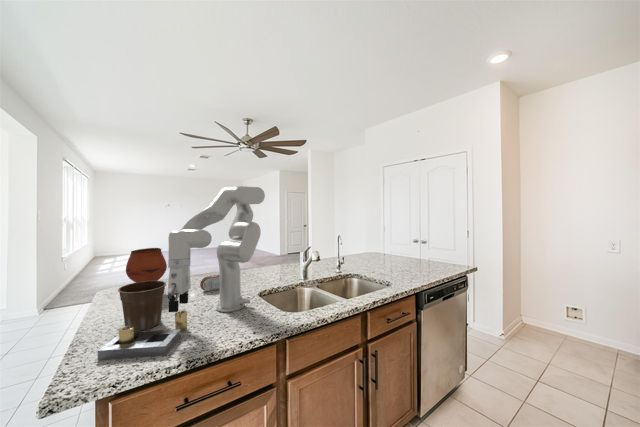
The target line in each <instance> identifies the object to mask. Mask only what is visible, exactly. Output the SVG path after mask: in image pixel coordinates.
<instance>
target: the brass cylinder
mask: <svg viewBox="0 0 640 427" xmlns="http://www.w3.org/2000/svg"><path fill="white" fill-rule="evenodd" d="M174 313H175V314H174V316H175V318H174V320H175V321H174V322H175V323H174V324H175V329H174V330H176V329H181V333H185V332H186V331H187V330H188V312H187V310H178V312H174Z"/></svg>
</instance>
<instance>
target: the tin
mask: <svg viewBox="0 0 640 427" xmlns="http://www.w3.org/2000/svg"><path fill="white" fill-rule="evenodd" d="M199 285H200V289H201V290H203V291H204V292H212V291H213V292H214V291H217V290H219V291H220V285H219V274H215V275H209V276H205V277H203V278H202V279H201V280H200V284H199Z"/></svg>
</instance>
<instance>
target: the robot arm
mask: <svg viewBox="0 0 640 427" xmlns="http://www.w3.org/2000/svg"><path fill="white" fill-rule="evenodd" d="M265 194H266V193H265V191H264V190H263V188H261V187H259V186H244V185H241V186H239V185H237V186H225V187H223V188H222V189H221V190H220V191H219V192H218V194H216V196H215V197H214V199H213V200H212V201H211V202H210V203H209V205H208V206H207V207H206V208H205V209H203V210H201V211H199V212H198V213H197V214H195V215H194V216H192V217H191V218H190V219H189V220H188V221H187V222H186V223H185V224H184V225H183V226H182V228H181V229H180V230H172V231H170V232H169V234H168V258H167V259H168V260H167V262H168V264H167V268H169V274H168V283H167V284H168V285H167V286H168V291H167V300H168V301H167V302H168V313H176V312H178V311H179V304H180V305H181V304H184V305H185V304H188V303H189V290H190V289H191V285H192V284H191V281H192V280H191V255H192V254H191V249H204V248H206V247H208V246H209V245H210V244H211V242H212V235H211V233H210V232H209V231H207V230H205V228H206V227H209V226H211V225H213V224H216V223H220V222H221V221H223V220H224V219H225V218H226V216H227V215H228V214H229V212H230V211H231V210H232V208H233V207H234V206H236V213H235V216H234V218H233V220H232V223H231V225H230V227H229V229H228V237H229V239H231V240H226V241H223V242H220V243H219V245H217V248H216V257H217V262H218V270H219V274H218V275H219V285H220V289H219V303H218V304H217V305H216V308H215V309H216V310H217V311H218V312H220V313H231V312H237V311H239V310H241V309H243V308H244V307H245V304H247V305H248V304H251V299H250V298H248V297H247V298H244V297H243V295H242V293H241V291H242V288H241V267H240V264H241V263H242V264H243V263H248V262H250V260H252V258H253V256H254V254H255V250H256V248H257V247H258V246H257V245H258V243H259V241H260V238H261V226H260V225H259V223H256V222H255V221H253V219H254V212H253V209H252V207H251V205H260V204H262V203H263V202H264V201H265V197H266V195H265ZM239 263H240V264H239ZM178 299H179V300H178Z"/></svg>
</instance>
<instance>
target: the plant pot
mask: <svg viewBox="0 0 640 427" xmlns="http://www.w3.org/2000/svg"><path fill="white" fill-rule="evenodd" d="M166 286H167V282H166V281H163V280H158V281H143V282H137V283H136V282H132V283H128V284H126V285H122V286H121V287H119V288H118V289H117V291H118V293H119V299H120V301H121V305H122V307H121V308H122V313H123V314H122V315H123V320H124V327H125V326H133V330H134V332H144V331H148V330H150V329H153V328H155V326H158V325H160V324H161V323H162V313H163V312H162V310H163V301H164V300H163V299H164V294H165V288H166Z"/></svg>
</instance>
